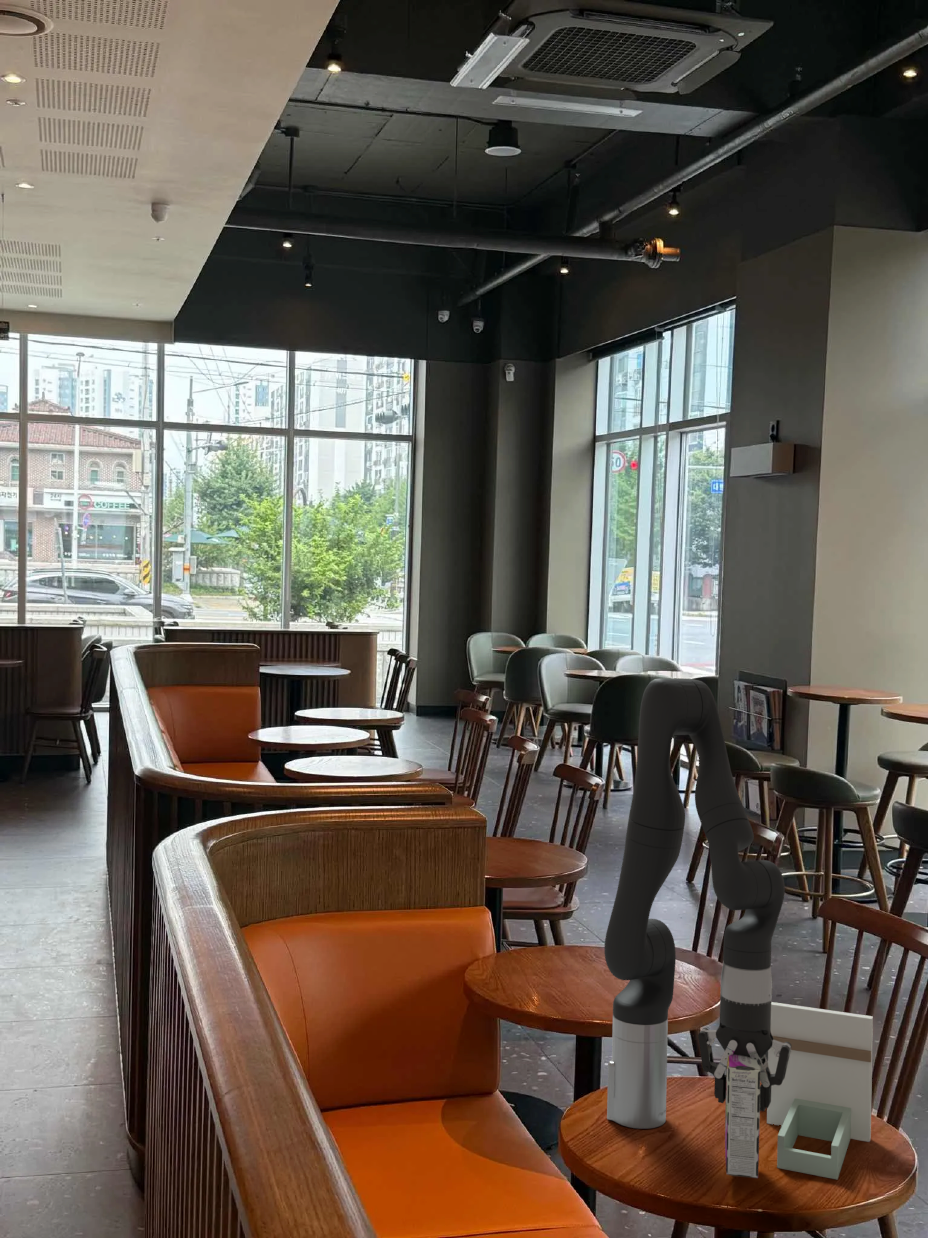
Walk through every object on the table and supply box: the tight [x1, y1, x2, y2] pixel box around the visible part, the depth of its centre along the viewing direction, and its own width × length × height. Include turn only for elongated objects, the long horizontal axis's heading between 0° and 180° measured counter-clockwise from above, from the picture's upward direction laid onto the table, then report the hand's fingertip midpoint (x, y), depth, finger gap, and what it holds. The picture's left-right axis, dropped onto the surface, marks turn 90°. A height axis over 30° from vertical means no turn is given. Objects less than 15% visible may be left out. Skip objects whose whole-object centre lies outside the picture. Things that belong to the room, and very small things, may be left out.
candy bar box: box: [724, 1055, 761, 1179], centre depth 184 cm, size 11×5×16 cm, turn 168°
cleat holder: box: [766, 1001, 874, 1181], centre depth 195 cm, size 16×18×20 cm
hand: (742, 1105), depth 184 cm, fingers closed on candy bar box, 5 cm apart
